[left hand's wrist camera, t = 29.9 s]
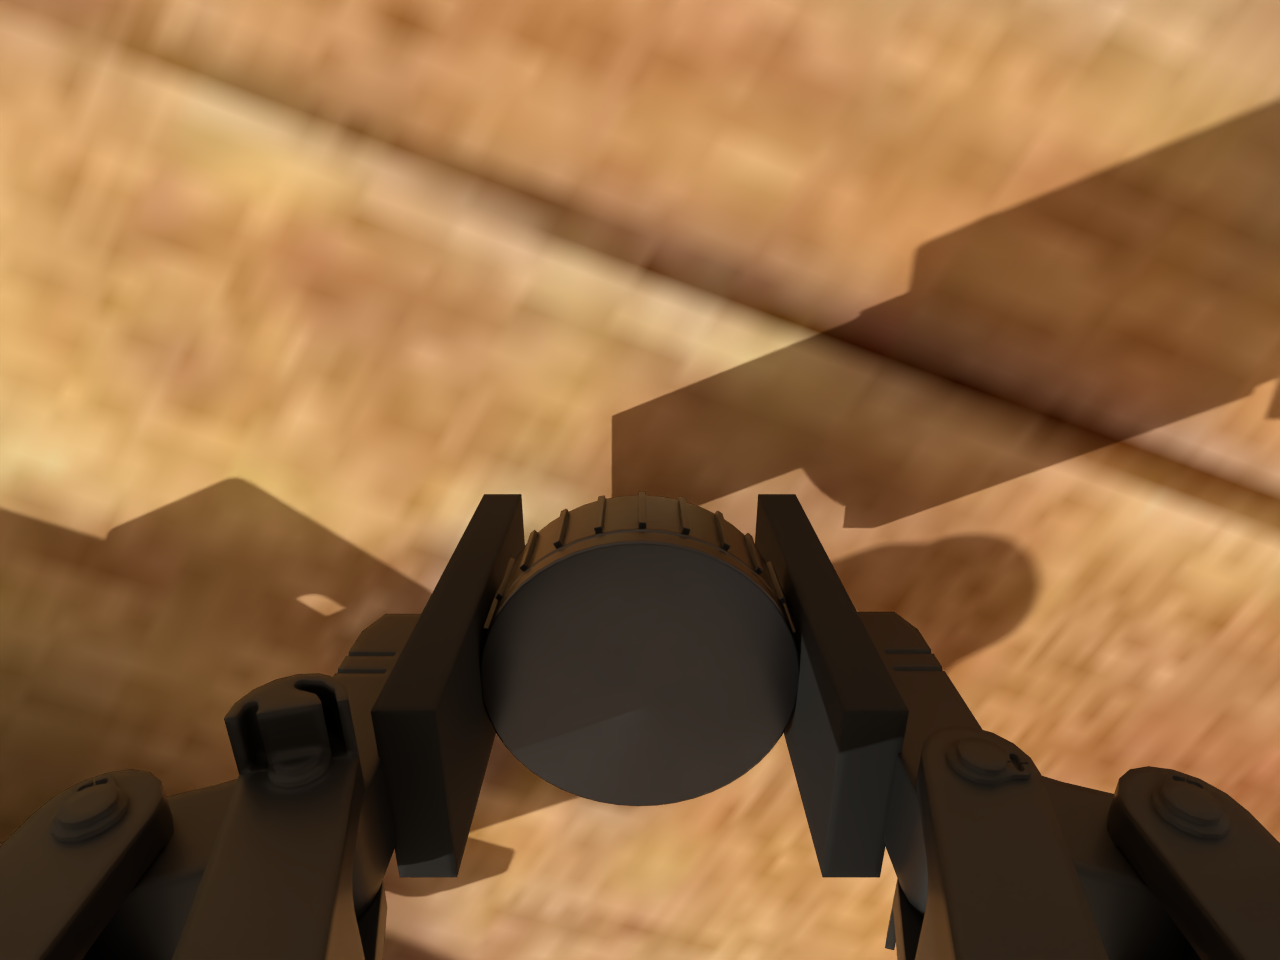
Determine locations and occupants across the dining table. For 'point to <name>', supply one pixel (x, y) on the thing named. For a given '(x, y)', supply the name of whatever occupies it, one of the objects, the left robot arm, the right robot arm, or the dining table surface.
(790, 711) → the lid
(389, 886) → the dining table surface
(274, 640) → the dining table surface
